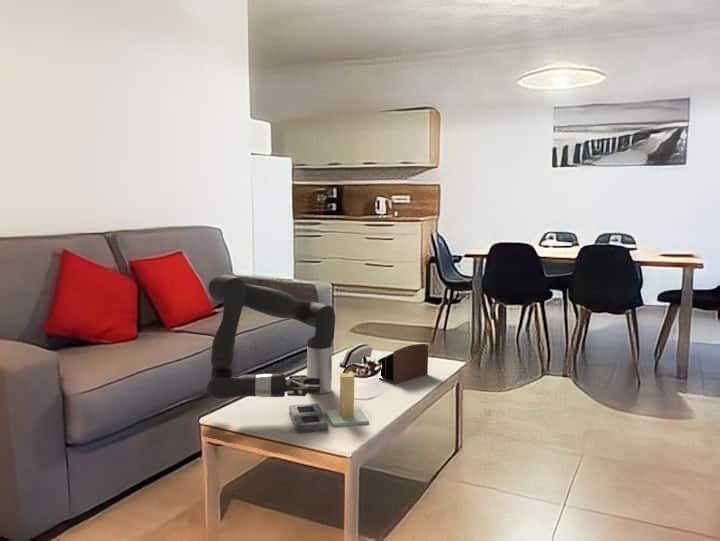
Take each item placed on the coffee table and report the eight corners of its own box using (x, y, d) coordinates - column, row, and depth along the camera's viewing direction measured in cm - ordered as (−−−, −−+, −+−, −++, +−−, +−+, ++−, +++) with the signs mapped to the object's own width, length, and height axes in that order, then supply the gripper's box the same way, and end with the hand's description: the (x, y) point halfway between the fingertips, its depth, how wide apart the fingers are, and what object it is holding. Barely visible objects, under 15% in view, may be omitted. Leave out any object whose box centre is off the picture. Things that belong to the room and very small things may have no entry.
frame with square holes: (289, 412, 211) (289, 405, 210) (318, 410, 213) (318, 403, 213) (296, 433, 193) (296, 425, 193) (328, 430, 196) (328, 423, 195)
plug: (339, 413, 208) (340, 373, 206) (351, 413, 208) (352, 372, 207) (341, 418, 204) (342, 377, 202) (353, 417, 204) (354, 376, 203)
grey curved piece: (360, 358, 279) (367, 338, 276) (368, 363, 277) (375, 344, 274) (338, 366, 266) (345, 346, 263) (346, 372, 263) (353, 351, 260)
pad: (325, 413, 211) (325, 410, 210) (360, 411, 213) (360, 408, 213) (332, 426, 199) (332, 423, 199) (368, 424, 202) (368, 421, 202)
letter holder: (428, 375, 256) (429, 342, 254) (393, 384, 243) (394, 349, 241) (410, 369, 264) (411, 337, 262) (376, 378, 250) (377, 344, 249)
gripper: (268, 381, 195) (320, 381, 197) (271, 367, 210) (320, 367, 211) (268, 404, 196) (320, 403, 198) (271, 389, 211) (319, 389, 212)
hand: (319, 385), depth 204 cm, fingers open, 8 cm apart
